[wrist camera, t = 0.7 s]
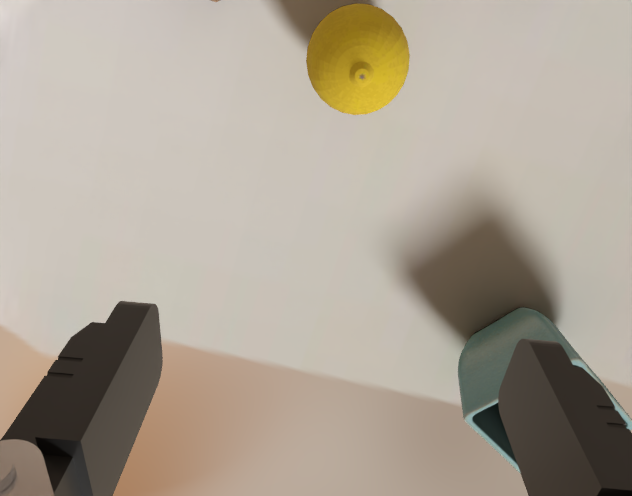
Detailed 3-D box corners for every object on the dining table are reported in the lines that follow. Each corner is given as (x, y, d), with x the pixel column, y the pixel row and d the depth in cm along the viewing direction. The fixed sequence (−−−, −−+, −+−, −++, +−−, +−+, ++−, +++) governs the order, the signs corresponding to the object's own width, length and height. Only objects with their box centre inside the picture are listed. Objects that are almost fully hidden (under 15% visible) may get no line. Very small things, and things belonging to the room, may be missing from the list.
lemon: (295, 74, 31) (288, 109, 25) (329, -19, 29) (330, -8, 22) (375, 106, 32) (389, 148, 26) (415, 19, 30) (442, 41, 23)
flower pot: (435, 333, 42) (460, 419, 34) (529, 276, 39) (579, 356, 31) (491, 389, 45) (525, 479, 38) (581, 341, 42) (639, 428, 35)
